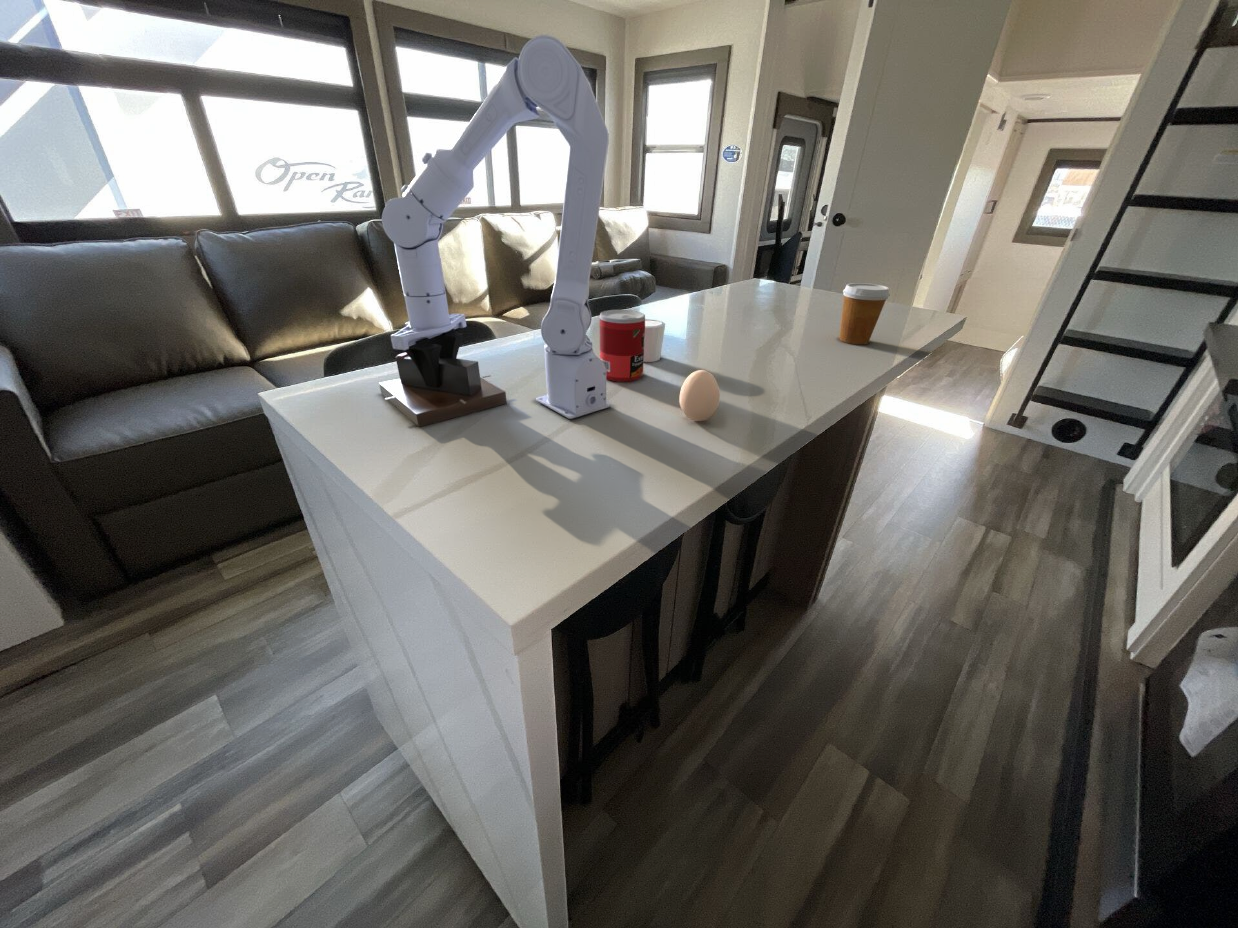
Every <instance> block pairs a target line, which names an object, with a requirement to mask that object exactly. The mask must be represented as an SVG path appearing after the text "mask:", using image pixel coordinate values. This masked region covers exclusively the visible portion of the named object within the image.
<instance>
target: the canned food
mask: <svg viewBox="0 0 1238 928" xmlns="http://www.w3.org/2000/svg"><path fill="white" fill-rule="evenodd" d="M645 319H646V314H645V313H643V312H642V311H638V310H632V309H609V310H608V309H607V310H604V311H601V312H600V313H599V359H600V360H602V362H603V363H604V365H605V367H606V381H610V382H611V381H612V382H616V383H617V382H618V383H627V382H635V381H638V380H639V379H641V378H642V375H643V374H644V373H643V372H644V362H643V361H644V339H645Z"/></svg>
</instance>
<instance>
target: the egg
mask: <svg viewBox="0 0 1238 928" xmlns="http://www.w3.org/2000/svg"><path fill="white" fill-rule="evenodd" d="M720 393H721V392H720V387H719V385H718V382H717V380H716V378H715V377H714V375H713V374H712V373H711V372H709V371H707V370H705V369H698V370H695V371H693V372H691V373H690V374H689V375H688V376H687V377H686V379H685V380H684V381H683V383H682V385H681V388H680V392H679V397H678V398H679V399H678V400H679V406H680V409H681V411H682V412H683V414H684V415H685V416H686V417H687V418H688V419H689V420H692V421H694V422H702V421H706V420H707V419H709V418H711V416H713V415H714V414H715V412H716V411H717V408H718V407H719V403H720V399H721V398H720V397H721V394H720Z"/></svg>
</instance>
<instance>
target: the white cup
mask: <svg viewBox="0 0 1238 928" xmlns="http://www.w3.org/2000/svg"><path fill="white" fill-rule="evenodd" d="M665 327H666V323H665V322H663V321H662V320H657V319H647V318H645V339H644V361H643V363H653V362H658V361H659V360H660V359H661V355H662V349H663V342H664V336H665V330H666V329H665Z"/></svg>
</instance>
